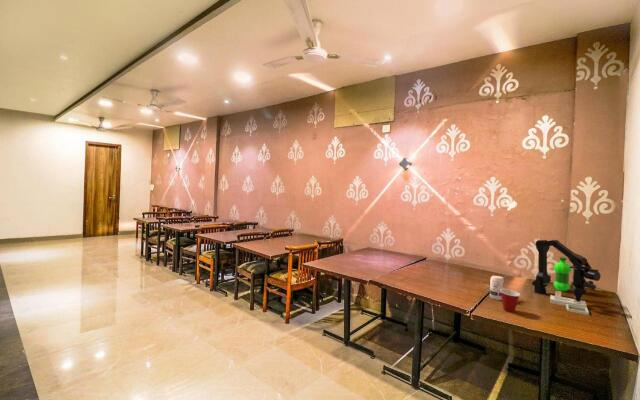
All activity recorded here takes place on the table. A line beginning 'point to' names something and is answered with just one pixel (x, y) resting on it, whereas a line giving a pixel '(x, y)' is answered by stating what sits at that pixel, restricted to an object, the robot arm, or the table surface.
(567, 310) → the parts tray
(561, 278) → the plastic bottle
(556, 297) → the fuse
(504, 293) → the plastic cup
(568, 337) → the table surface
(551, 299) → the fuse block
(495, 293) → the supplement can
